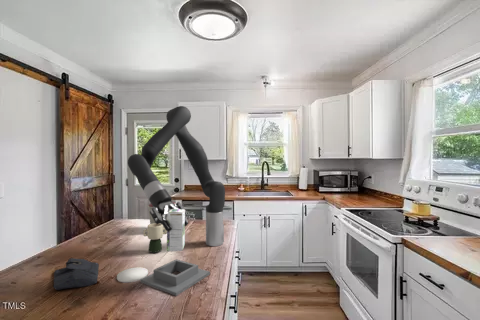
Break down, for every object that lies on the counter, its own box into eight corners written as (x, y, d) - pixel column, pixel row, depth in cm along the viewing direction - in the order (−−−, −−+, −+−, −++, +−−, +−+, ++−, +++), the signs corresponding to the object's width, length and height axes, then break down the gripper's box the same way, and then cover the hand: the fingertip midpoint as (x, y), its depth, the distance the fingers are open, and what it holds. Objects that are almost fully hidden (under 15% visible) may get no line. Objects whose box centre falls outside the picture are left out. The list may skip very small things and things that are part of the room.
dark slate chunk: (44, 297, 82) (44, 282, 82) (55, 271, 101) (55, 259, 101) (98, 285, 89) (98, 272, 89) (99, 263, 108) (99, 252, 108)
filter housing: (176, 264, 106) (176, 255, 106) (210, 274, 97) (210, 264, 97) (140, 282, 91) (140, 271, 91) (176, 295, 82) (176, 283, 82)
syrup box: (169, 246, 97) (169, 209, 97) (185, 245, 97) (185, 208, 97) (166, 251, 91) (166, 212, 91) (183, 251, 92) (182, 211, 91)
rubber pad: (135, 267, 104) (135, 265, 104) (154, 273, 98) (154, 271, 98) (110, 278, 94) (110, 275, 94) (129, 285, 89) (129, 283, 89)
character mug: (166, 247, 127) (166, 222, 127) (167, 252, 120) (167, 225, 120) (143, 250, 123) (143, 224, 123) (143, 255, 116) (143, 227, 116)
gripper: (146, 190, 92) (169, 226, 86) (175, 186, 104) (196, 217, 98) (137, 203, 94) (159, 238, 89) (166, 198, 107) (186, 228, 101)
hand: (178, 227), depth 93 cm, fingers closed on syrup box, 8 cm apart
